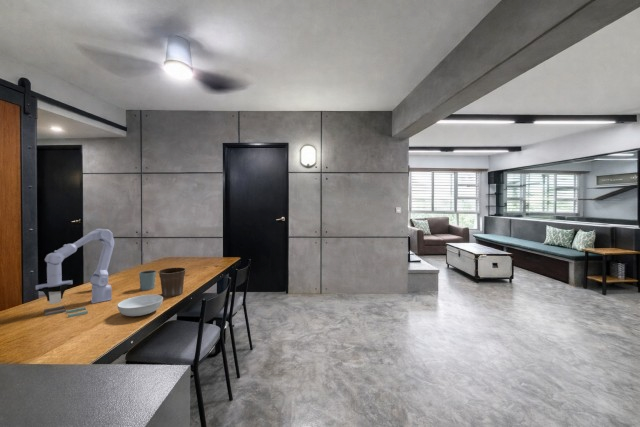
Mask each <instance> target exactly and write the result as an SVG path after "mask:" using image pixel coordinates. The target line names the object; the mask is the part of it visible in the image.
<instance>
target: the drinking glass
mask: <svg viewBox="0 0 640 427" xmlns="http://www.w3.org/2000/svg"><path fill="white" fill-rule="evenodd" d="M138 276H139V290H140V291H151V290H154V289H155V286H156V284H155V283H156V276H157V271H156V270H155V269H154V270H153V269H152V270H151V269H150V270H149V269H148V270H142V271H139V272H138Z"/></svg>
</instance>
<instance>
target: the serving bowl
mask: <svg viewBox="0 0 640 427" xmlns="http://www.w3.org/2000/svg"><path fill="white" fill-rule="evenodd" d="M163 301H164V296H162V295H159V294H143V295H138V296H137V295H136V296H133V297H129V298H126V299H123V300H122V301H121V300H120V302H118V303H117V310H118V311H119V313H120V314H121V315H123V316H126V317H142V316H146V315H149V314H151V313H154V312H155V311H157V310H158V309H159V308H160V307H161V306H162V303H164V302H163Z"/></svg>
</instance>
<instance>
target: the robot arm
mask: <svg viewBox="0 0 640 427" xmlns="http://www.w3.org/2000/svg"><path fill="white" fill-rule="evenodd" d="M96 240H98V241H100V242H101V244H103V245H102V249H101V252H100V256H99V260H98V263H97V267H96V269H95V271H94V272H93V274H92V275H91V277H90V278H89V284H91V299H90V300H89V301H90V303H91V304H97V303H101V302H106V301H112V300H113V299H112V295H113V294H112V291H113V290H112V285H111V284H109V280H110V279H109V272H108V270H109V265H110V262H111V258H112V254H113V251H114V247H115V243H116V242H115V239H114V233H113V232H112V231H111V230H110V229H107V228H96V229H93V230H91V231H89V233H87V234H86V235H84V236H82V237H80V239H78V240H77V241H74V242H73V243H67V244H66V243H65V244H63V245H62V247H60V248H58V249H57V250H56V249H55V250H54V251H53V252H50V253H48V254H46V256H45V258H44V262H45V263H46V279H47V280H46V282H47V283H41V284H36V285H35V291H36V290H42V292H43V293H44V295H45V297H46V301H47V302H49V293H50V288H54V287H59V286H60V292H61V300H62V299H64V298H63V296H64V294H65V291H66V290H67V288H68V285H73V279H71V280H69V279H68V280H62V279H63V278H62V277H63V276H62V275H63V274H62V263H63V261H64V260H65V259H66V258H68V257H69V256H71V255H72V254H75V253H76V252H77V250H78V248H81V247H83V246H84V245H85V244H88V243H89V242H91V241H96Z"/></svg>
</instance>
